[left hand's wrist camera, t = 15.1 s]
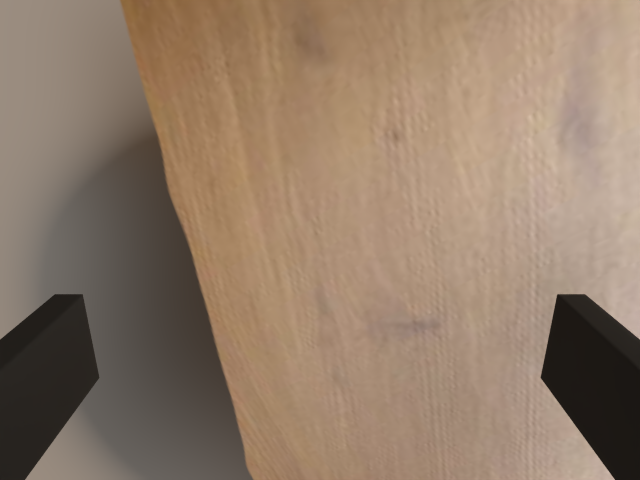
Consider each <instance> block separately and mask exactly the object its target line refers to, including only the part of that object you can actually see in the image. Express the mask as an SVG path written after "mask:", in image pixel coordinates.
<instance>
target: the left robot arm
mask: <svg viewBox="0 0 640 480" xmlns="http://www.w3.org/2000/svg"><path fill="white" fill-rule="evenodd" d="M98 379H99V374H98V369H97V364H96V359H95V354H94V349H93V344H92V339H91V334H90V329H89V324H88V319H87V314H86V309H85V304H84V299H83V295H82V294H55V295H54V296H52V297H51V298H50V299H49V300H48V301H46V302H45V303H44V304H43V305H42V306H40V307H39V308H38V309H37V310H36V311H34V312H33V313H32V314H31V315H29V316H28V317H27V318H26V319H25V320H23V321H22V322H21V323H20V324H19V325H17V326H16V327H15V328H14V329H13V330H11V331H10V332H9V333H8V334H6V335H5V336H4V337H3V338H2V339H0V480H25V479H26V478H27V476H28V475H29V473H30V472H31V471H32V469H33V468H34V467H35V465H36V464H37V462H38V461H39V460H40V458H41V457H42V456H43V454H44V453H45V451H46V450H47V449H48V447H49V446H50V445H51V443H52V442H53V440H54V439H55V438H56V436H57V435H58V434H59V432H60V431H61V429H62V428H63V427H64V425H65V424H66V423H67V421H68V420H69V418H70V417H71V416H72V414H73V413H74V412H75V410H76V409H77V408H78V406H79V405H80V403H81V402H82V401H83V399H84V398H85V397H86V395H87V394H88V392H89V391H90V390H91V388H92V387H93V386H94V384H95V383H96V381H97V380H98ZM541 379H542V380H543V382H544V383H545V384H546V386H547V387H548V388H549V390H550V391H551V393H552V394H553V395H554V397H555V398H556V399H557V401H558V402H559V403H560V405H561V406H562V408H563V409H564V410H565V412H566V413H567V414H568V416H569V417H570V419H571V420H572V421H573V423H574V424H575V425H576V427H577V428H578V430H579V431H580V432H581V434H582V435H583V436H584V438H585V439H586V440H587V442H588V443H589V445H590V446H591V447H592V449H593V450H594V451H595V453H596V454H597V456H598V457H599V458H600V460H601V461H602V462H603V464H604V465H605V467H606V468H607V469H608V471H609V472H610V473H611V475H612V476H613V478H614V479H615V480H640V339H638V338H637V337H636V336H635V335H634V334H632V333H631V332H630V331H629V330H627V329H626V328H625V327H624V326H623V325H621V324H620V323H619V322H618V321H617V320H615V319H614V318H613V317H612V316H611V315H609V314H608V313H607V312H606V311H605V310H603V309H602V308H601V307H600V306H598V305H597V304H596V303H595V302H594V301H592V300H591V299H590V298H589V297H588V296H586V295H585V294H557V299H556V304H555V309H554V314H553V319H552V324H551V329H550V334H549V339H548V344H547V349H546V354H545V359H544V364H543V369H542V374H541Z"/></svg>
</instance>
